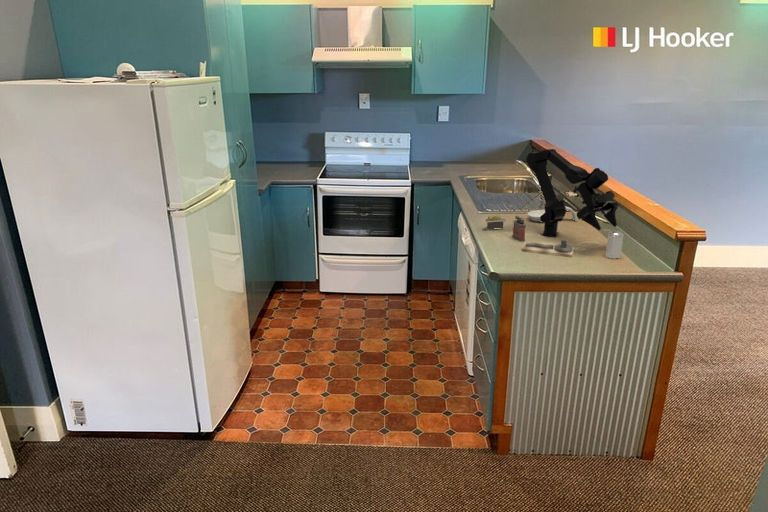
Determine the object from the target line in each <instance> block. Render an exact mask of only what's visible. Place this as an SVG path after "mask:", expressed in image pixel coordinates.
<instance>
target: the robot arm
mask: <svg viewBox="0 0 768 512" xmlns="http://www.w3.org/2000/svg"><path fill="white" fill-rule="evenodd" d="M525 161H526V163H527V166H528V167H529V169H530V170H531V171H533V173H535V176H536V179H537V182H538V184H539V187H540V190H541V193H542V195H543V199H544V201H545V202H544V203H545V204H544V207H543V210H544V209H545V213H544V214H543V215H542V216H540V219H541V221H542V222H541V223H543V224H544V225H543V231H542V234H541V236H544V237H545V236H547V237H554V238H555V237H558V235H559V232H558V226H559V225H558V224H559V222H563V219H564V218H565V216H566V214H567V210H565V209H566V207H567V206H566V205H565V203H564V201H563V199H562V200H561V199H560V200H559V199H558V198H557V196H556V192H555V190H554V188H553V184H552V182H551V178H550V176H549V173H548V171H547V166H548V161H549V162H550V163H551V164H552V165H553V166H555V167H556V168H557V169H558V170H560V171H561V172H563V174H564V176H565V179H566V180H567V181H568V182H569V183H570V184H572V185H575V186H574V189H573V193H574V194H577V193H578V194H579V195H580V197H581V199H582V200H583V201H581V203H582V205H586V206H583V207H581V209H580V210H578V211H577V212H576V216H577V220H581V221H583V222H585V223H586V224H588V225H590V226H592V228H594V229H596V230H598V231H600V230H602V227H601V225H600V223H599V222H598V219H597V217H596V213H602V214H603V217H604V218H605V219H606V220H607V221H608V223H610V225H612V226H613V227H614V228H616V227H617V218H616V217H617V216H616V211H617V210H618V208H619V207H620V205H619V203H618V202H617V201H614V199H615V195H616V194H615V193H614V191H613V190H608V191H606V192H605V193H599V192H598V193H597V192H596V190H598V189H599V188H601V187H602V186H603V185H604V184H605V183H607V182H608V180H609V176H608V173H606V172H605V171H604V170H602V169H600V168H599V167H595V168H594V169H593V170H592V171H591V172H589V171H587V169H586V168H583V167H581V166H577V165H575V164H573V163H572V162H570V161H569V160H567V159H566V158H565V157H564V156H562V155H561V154H560V153H558V151H557V150H556V149H554V148H548V149H547V148H546V149H544V150H541V151H535V152H529V153H528V154H527V156H526V160H525ZM577 184H579V185H577ZM565 206H566V207H565Z"/></svg>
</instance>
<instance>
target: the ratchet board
mask: <svg viewBox="0 0 768 512" xmlns="http://www.w3.org/2000/svg"><path fill="white" fill-rule="evenodd" d="M567 243H568V241H567V239H561V240H560V244H548V243H538V242H529V241H524V244H523V245H522V247H521V249H520V250H521V252H526V253H535V254H543V255H551V256H559V257H566V258H572V257H573V255H574V253H575V246H574V247H573V246H571V245H569V244H567Z"/></svg>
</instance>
